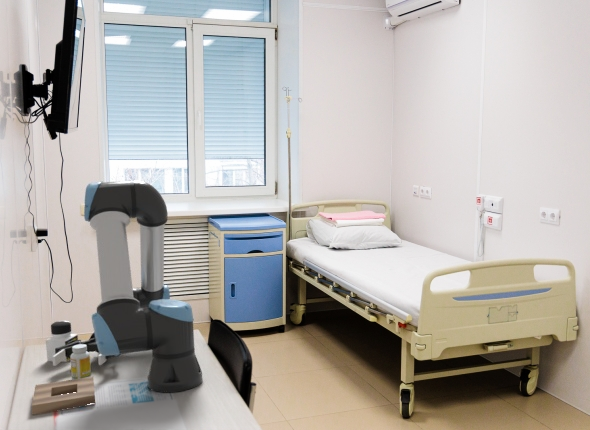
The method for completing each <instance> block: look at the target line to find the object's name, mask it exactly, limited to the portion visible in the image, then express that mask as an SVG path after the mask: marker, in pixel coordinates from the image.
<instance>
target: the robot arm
mask: <svg viewBox="0 0 590 430" xmlns="http://www.w3.org/2000/svg"><path fill="white" fill-rule="evenodd" d="M84 194H85V195H84V208H83V209H84V211H83V213H84V216H83V217H84V220H85V222H88V223H89V225H90V228H92V229H93V230H95V234H96V236H95V238H96V249H97V257H98V258H97V259H98V260H97V261H98V273H99V284H100V285H99V286H100V296H101V302H100V303H99V304H98V305H97V306H96V312H94V313H92V315H91V323H92V327H93V333H92V334H91V335H90V336H89V339H88V340H85V341H82V339H78V340H77V341H75V342H73V343H70V344H67V345H64V346H61V347H58V348H55V355H54V356H52V359H53V362H52V366H57V365H59V364H60V363H61V361H63V360H64V359H65V358H66V357H67V356H70V355H71V354H72V353H73V351H72V347H73V346H75V345H79V344H86V345H87V350H86V351H87V352H89V353H90V352H92V353H94V352H95V353H97V354H98V356H97V361H98V366H102V365H103V364H104V363H105V362H107V361H108V360H110V359H111V358H114V357H115V356H116V357H121V356H122V355H123V354H124V355H125V354H131V353H140V352H146V351H152V352H151V353H152V359H151V364H150V368H149V372H148V375H147V387H148V388H149V390H151V389H152V390H151V391H154V392H159V393H176V392H183V391H187V390H190V389H193V388H196V387H197V386H199V385H200V384H202V382H203V371H202V369H201V366H200V364H199V361H198V359H197V355H196V351H195V350H196V349H195V332H194V314H193V308H192V305H190V304H189V303H188V302H186V301H184V300H178V299H171V295H170V294H171V293H170V287H169V285H168V284H164V283H165V281H164V279H165V276H164V275H165V272H164V271H165V225H166V224H167V223H168V208H167V204H166V201H165V200H164V197H163V196H162V195H161V193H160V191H158V189H156V187H154V186H153V185H151V184H150V183H148V182H146V181H143V180H138V179H137V180H136V179H134V180H122V181H120V180H119V181H97V182H91V183H88V184H87V185H86V188H85V192H84ZM131 219H136V222H137V224H138V225H139V234H140V235H139V238H140V239H139V240H140V241H139V242H140V243H139V244H140V287H133V280H132V279H133V278H132V271H131V262H130V254H129V245H128V243H129V242H128V235H127V227H128V226H129V225H130V223H131Z"/></svg>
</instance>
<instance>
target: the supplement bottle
mask: <svg viewBox="0 0 590 430" xmlns="http://www.w3.org/2000/svg"><path fill="white" fill-rule="evenodd" d="M86 350H87V345H86V344H79V345H75V346H73V347H72V351H73V353H72V354H71V356H70V360H69V361H70V372H71V374H70V375H71V380H72V379H79V378H85V377H92V370H91V354H90V352H87V351H86Z"/></svg>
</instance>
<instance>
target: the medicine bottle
mask: <svg viewBox="0 0 590 430" xmlns="http://www.w3.org/2000/svg"><path fill="white" fill-rule="evenodd" d="M71 323H72V322H70V321H68V320H59V321H54V322H53V323H51V325H50V331H51V337H49V338H47V339H46V340H45V346H46V348H45V349H46V359H47V362H52V363H53V359H52V356H54V355H55V348H58V347H61V346H64V345H67V344H70V343H73V342H75V341H77V340H79V336H78V334H77V333H72V325H71ZM70 356H71V355H70ZM70 356H67V357H66V358H65V359H64V360H63V361H61V362H62V363H68V362H69V361H71V360H70ZM61 362H60V363H61Z"/></svg>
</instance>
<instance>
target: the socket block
mask: <svg viewBox="0 0 590 430" xmlns="http://www.w3.org/2000/svg"><path fill="white" fill-rule="evenodd" d="M73 392H76V393H73ZM67 393H69V394H67ZM61 394H63V395H61ZM95 394H96V392H95V381H94V376H92V375H91V377H85V378H79V379H72V378H71V379H67V380H60V381H54V382H47V383H41V384H39V383H38V384H35V387H34V392H33V397H32V402H31V411H32V412H31V414H32V416H34V415H42V414H46V413H53V412H58V411H57V410H60V411H63V410H62V409H66V410H68V409H67V408H72V409H74V408H73V407H78V408H80V407H79V406H84V407H86V406H85V405H87V404H90V403H95V404H96V395H95Z"/></svg>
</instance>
